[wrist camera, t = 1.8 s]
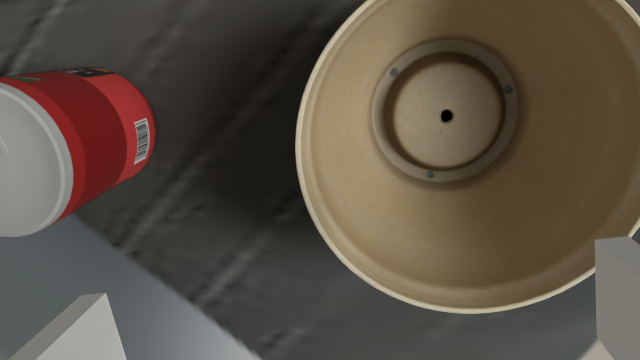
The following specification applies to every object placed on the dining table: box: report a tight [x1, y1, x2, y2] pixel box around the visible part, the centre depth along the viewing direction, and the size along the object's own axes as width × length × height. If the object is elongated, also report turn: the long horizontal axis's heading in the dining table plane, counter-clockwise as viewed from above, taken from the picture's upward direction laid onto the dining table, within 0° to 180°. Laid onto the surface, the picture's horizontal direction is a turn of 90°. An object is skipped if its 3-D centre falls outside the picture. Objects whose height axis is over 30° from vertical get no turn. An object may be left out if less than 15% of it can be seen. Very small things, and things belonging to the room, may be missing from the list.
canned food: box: [0, 68, 156, 237], centre depth 29 cm, size 8×8×11 cm
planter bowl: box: [295, 0, 640, 314], centre depth 26 cm, size 16×16×11 cm
